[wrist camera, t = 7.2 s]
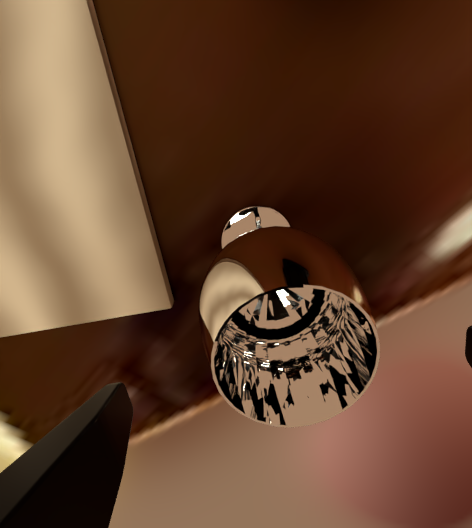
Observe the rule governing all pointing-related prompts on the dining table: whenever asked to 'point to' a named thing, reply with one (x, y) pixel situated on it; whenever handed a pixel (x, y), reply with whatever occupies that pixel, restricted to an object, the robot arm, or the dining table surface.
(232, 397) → the wineglass
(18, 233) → the subfloor board
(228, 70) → the dining table surface
